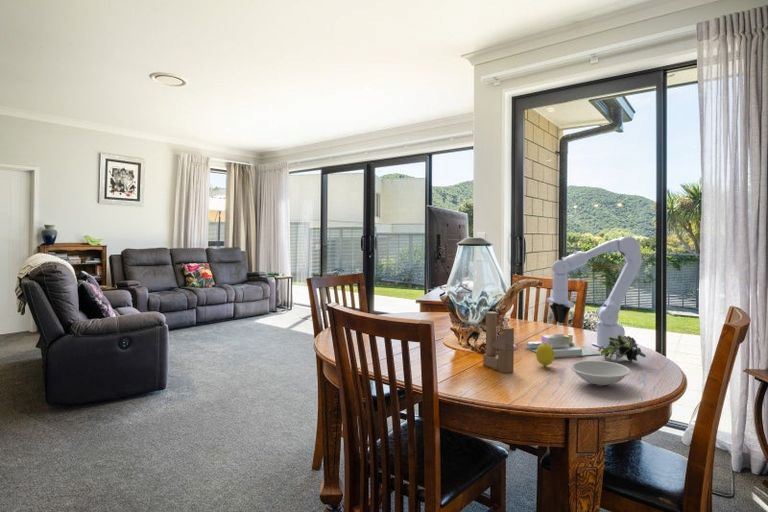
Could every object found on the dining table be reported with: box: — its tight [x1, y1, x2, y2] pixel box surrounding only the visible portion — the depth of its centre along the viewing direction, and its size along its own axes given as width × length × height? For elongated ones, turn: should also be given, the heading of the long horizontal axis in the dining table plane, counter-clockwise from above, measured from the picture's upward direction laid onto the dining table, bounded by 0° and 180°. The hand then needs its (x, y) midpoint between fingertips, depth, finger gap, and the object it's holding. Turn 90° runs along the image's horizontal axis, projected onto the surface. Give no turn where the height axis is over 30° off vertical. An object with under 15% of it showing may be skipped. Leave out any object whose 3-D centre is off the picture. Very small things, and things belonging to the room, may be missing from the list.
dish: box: [570, 360, 631, 387], centre depth 119 cm, size 18×14×5 cm
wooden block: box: [482, 311, 515, 374], centre depth 135 cm, size 4×11×18 cm, turn 26°
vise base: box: [524, 344, 601, 359], centre depth 155 cm, size 21×15×2 cm
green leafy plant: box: [598, 335, 646, 363], centre depth 142 cm, size 11×11×12 cm
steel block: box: [540, 333, 570, 349], centre depth 153 cm, size 9×4×6 cm, turn 103°
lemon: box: [535, 343, 555, 368], centre depth 136 cm, size 6×6×8 cm
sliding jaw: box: [526, 333, 575, 349], centre depth 160 cm, size 20×2×4 cm, turn 103°
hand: (559, 322), depth 169 cm, fingers closed
